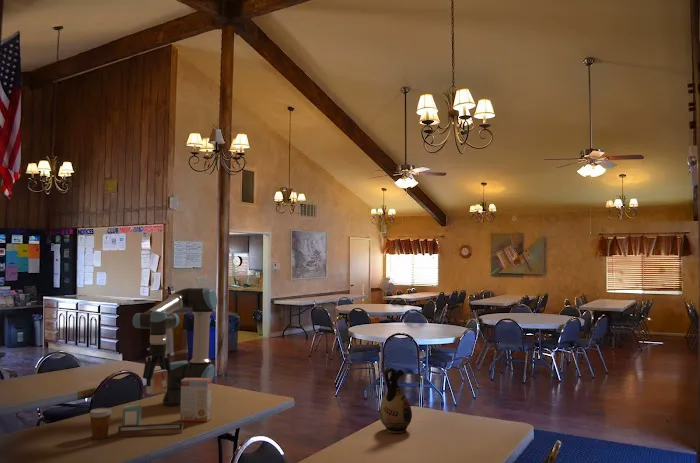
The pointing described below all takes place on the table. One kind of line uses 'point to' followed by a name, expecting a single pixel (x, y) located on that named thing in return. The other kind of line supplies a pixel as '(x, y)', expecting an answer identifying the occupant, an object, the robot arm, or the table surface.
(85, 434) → the table surface
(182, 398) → the cracker box
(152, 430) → the shelf board
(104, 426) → the disposable coffee cup
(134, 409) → the tea box
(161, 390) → the small box
